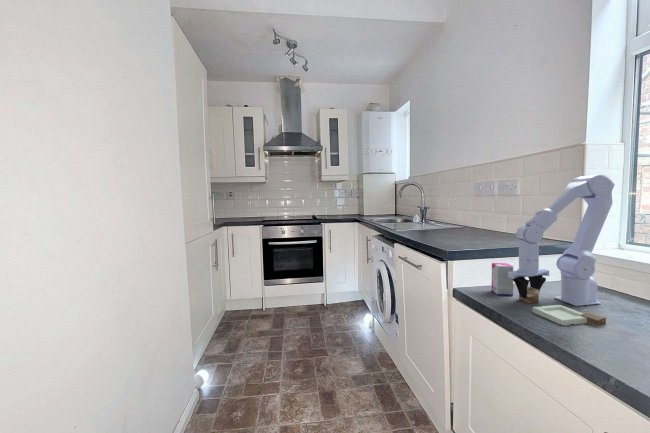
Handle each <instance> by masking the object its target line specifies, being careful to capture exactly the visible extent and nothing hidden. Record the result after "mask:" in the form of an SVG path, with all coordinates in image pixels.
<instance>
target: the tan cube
mask: <svg viewBox="0 0 650 433" xmlns="http://www.w3.org/2000/svg"><path fill="white" fill-rule="evenodd" d="M539 295H540V291H539V290H538V289H535V288H532V287H530V285H528V287H527V296H526V298H523V297H520V295H518V299H519V300H520V301H523V302H525V303H527V304H529V303H530V304H531V303H532V304H533V303H539V302H540V301H539V300H540V296H539Z"/></svg>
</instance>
